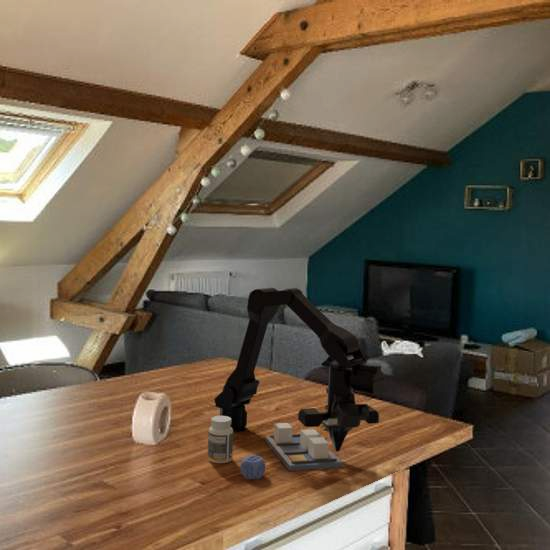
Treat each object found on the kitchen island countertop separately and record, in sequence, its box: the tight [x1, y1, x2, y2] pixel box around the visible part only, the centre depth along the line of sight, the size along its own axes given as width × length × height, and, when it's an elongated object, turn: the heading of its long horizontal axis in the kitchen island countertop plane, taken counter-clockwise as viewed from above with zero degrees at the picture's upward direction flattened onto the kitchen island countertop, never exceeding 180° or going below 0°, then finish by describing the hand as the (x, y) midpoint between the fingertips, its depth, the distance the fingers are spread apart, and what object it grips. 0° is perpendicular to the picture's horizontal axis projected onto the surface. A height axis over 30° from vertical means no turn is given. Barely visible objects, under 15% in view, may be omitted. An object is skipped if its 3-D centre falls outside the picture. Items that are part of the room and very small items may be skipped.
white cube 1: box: [308, 436, 330, 459], centre depth 161 cm, size 4×4×4 cm
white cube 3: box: [273, 422, 294, 443], centre depth 171 cm, size 4×4×4 cm
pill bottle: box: [207, 415, 234, 464], centre depth 159 cm, size 6×6×10 cm
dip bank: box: [263, 433, 344, 472], centre depth 167 cm, size 13×21×1 cm, turn 17°
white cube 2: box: [299, 428, 320, 450], centre depth 167 cm, size 4×4×4 cm
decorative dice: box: [240, 455, 266, 480], centre depth 151 cm, size 4×4×4 cm
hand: (336, 450), depth 163 cm, fingers closed
